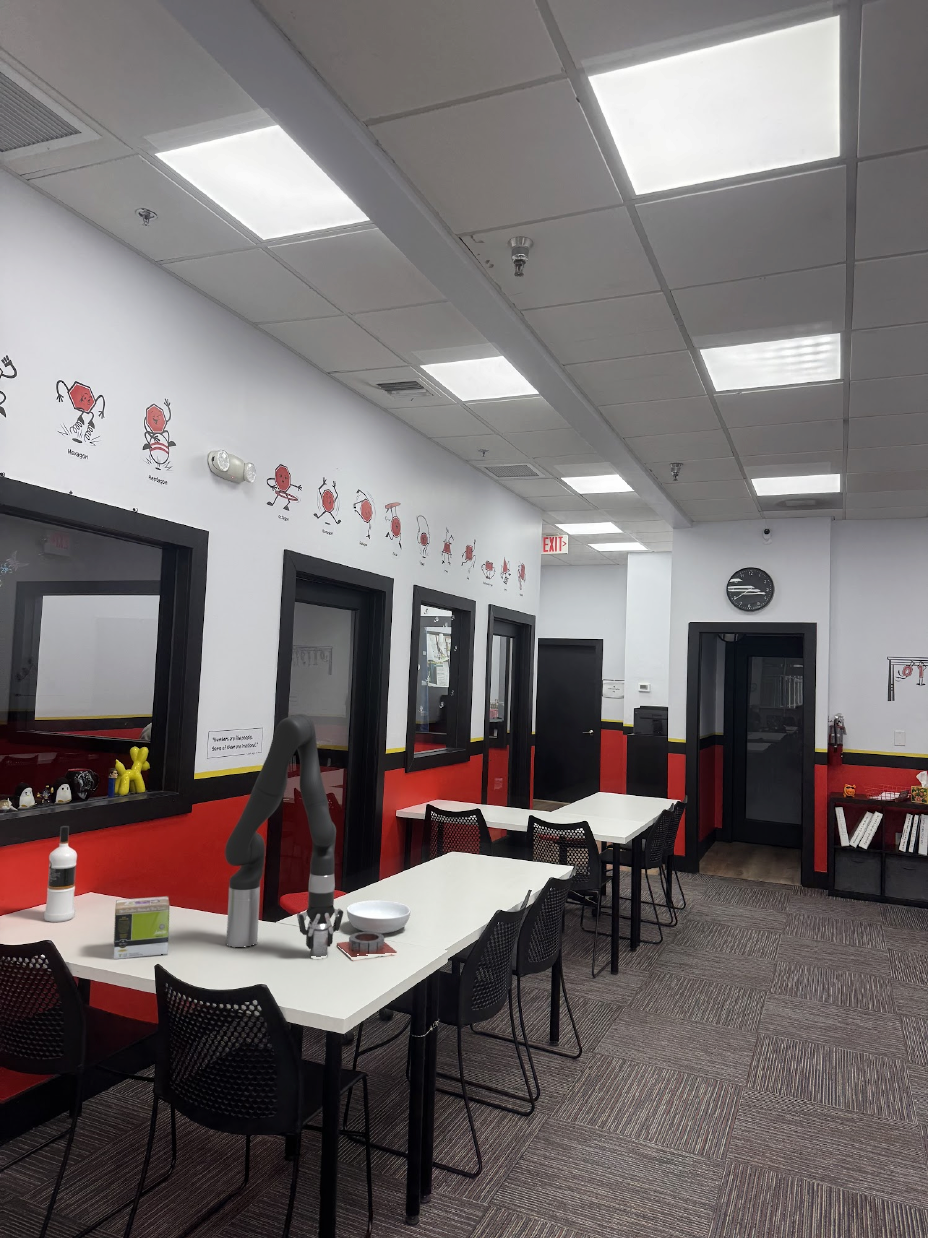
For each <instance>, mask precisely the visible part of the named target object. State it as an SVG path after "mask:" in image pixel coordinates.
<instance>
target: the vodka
mask: <svg viewBox="0 0 928 1238" xmlns="http://www.w3.org/2000/svg"><path fill="white" fill-rule="evenodd" d="M59 833H60V834H59V837H60V838H59V843H58V845H59V846H58V847H56V848H55V849H53V851H51V852H50V854H49V856H48V859H49V864H48V879H47V880H48V881H47V889H46V891H47V893H46V895H47V896H46V905H45V909H44V912H43V919H44V920H45V921H47V922H48V923H62V922H67V921H71V920H72V919H74V917H75V916H76V908H75V889H76V885H75V883H76V866H77V859H78V854H77V852H76V850H75V849H73V848H72V847H70V846H69V837H70V836H69V835H70V834H69V833H70V826H69V825H63V826H60V832H59Z"/></svg>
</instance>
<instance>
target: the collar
mask: <svg viewBox="0 0 928 1238" xmlns="http://www.w3.org/2000/svg"><path fill="white" fill-rule="evenodd" d="M337 946H339V947H340V948H341V949H343V950H344V951H345V952H346V953H348V954H349V955H350V956H351V957H357V956H368V955H366V954H385V953H398V951H397V950H395V949H394V948H393V947H391V945H389V944H388V943H387V942H385V936H384V934H379V933H375V932H365V931H361V932H354V933H352V934H351V935H349V936H348V941H343V942H336V947H337ZM357 954H359V955H357Z"/></svg>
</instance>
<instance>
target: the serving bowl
mask: <svg viewBox="0 0 928 1238" xmlns="http://www.w3.org/2000/svg"><path fill="white" fill-rule="evenodd" d="M346 914H347V915H346V916H347V919H348V920H349V922H350V924H351V926H353V927H354V928H356V929H357V930H359V931H361V932H375V933H379V934H382V935H384V934H387V933H393V932H396V931H399V930H400V929H402V928H403V927H405V926H406V924H407V923H408V921H409V919H410V916H411V908H410V907H409V906H408V905H406V904H404V903H401V902H397V901H391V900H379V899H378V900H377V899H376V900H375V899H374V900H363V901H359V902H354V903H351V904H350V905H348V906H347V908H346Z"/></svg>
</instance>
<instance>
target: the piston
mask: <svg viewBox="0 0 928 1238" xmlns="http://www.w3.org/2000/svg"><path fill="white" fill-rule="evenodd" d="M314 925H315V924H314ZM328 929H329V927H328V923H320V924H317V925H316V928H315V929H314V931H313V934H312V936H313V943H312V949H309V950H310V951H309V953H310V954H309V955H311V956H316V957H321V956H326V955H327V956H328V948H329V947H328Z"/></svg>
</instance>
